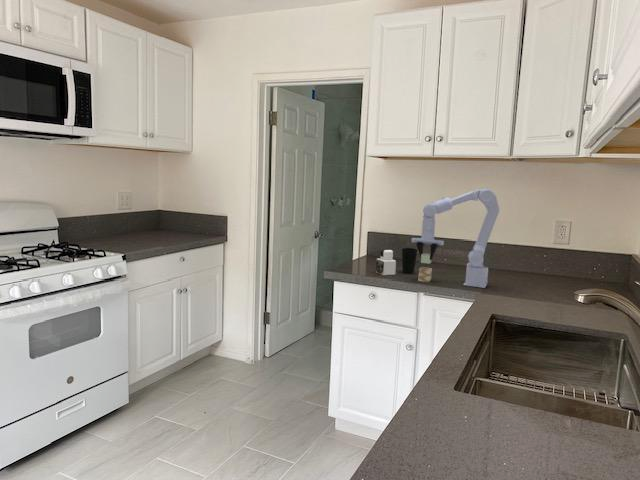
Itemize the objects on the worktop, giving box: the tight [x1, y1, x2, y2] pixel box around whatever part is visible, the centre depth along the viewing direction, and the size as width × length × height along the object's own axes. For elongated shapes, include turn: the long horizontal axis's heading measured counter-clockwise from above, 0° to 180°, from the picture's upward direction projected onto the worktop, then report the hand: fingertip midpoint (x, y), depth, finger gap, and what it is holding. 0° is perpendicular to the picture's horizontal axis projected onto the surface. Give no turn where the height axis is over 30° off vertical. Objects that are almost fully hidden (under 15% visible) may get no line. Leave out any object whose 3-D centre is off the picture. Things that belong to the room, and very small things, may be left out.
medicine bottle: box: [375, 248, 397, 276], centre depth 235 cm, size 7×7×12 cm
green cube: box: [420, 252, 432, 264], centre depth 222 cm, size 4×4×4 cm
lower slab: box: [417, 274, 432, 283], centre depth 223 cm, size 5×5×3 cm
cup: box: [401, 247, 418, 275], centre depth 239 cm, size 8×8×12 cm
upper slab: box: [418, 266, 433, 277], centre depth 223 cm, size 5×5×3 cm
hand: (426, 259), depth 222 cm, fingers closed on green cube, 4 cm apart
